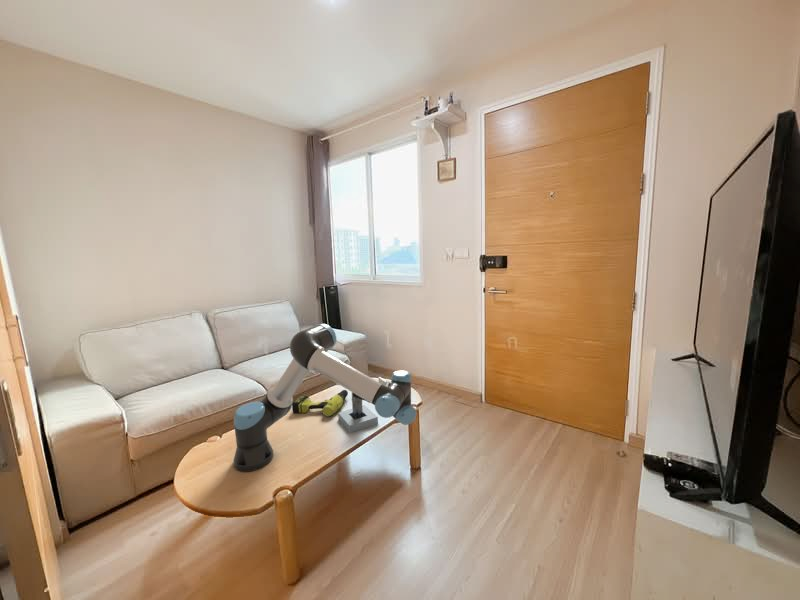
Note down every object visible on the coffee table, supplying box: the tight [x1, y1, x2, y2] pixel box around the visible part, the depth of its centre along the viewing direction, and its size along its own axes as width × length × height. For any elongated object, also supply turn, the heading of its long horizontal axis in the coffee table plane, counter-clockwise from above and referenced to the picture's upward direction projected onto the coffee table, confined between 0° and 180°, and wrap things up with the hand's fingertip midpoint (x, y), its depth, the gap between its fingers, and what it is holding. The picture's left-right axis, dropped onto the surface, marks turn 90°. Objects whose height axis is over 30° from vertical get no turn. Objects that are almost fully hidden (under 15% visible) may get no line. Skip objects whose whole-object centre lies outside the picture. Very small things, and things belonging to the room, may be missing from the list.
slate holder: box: [338, 404, 379, 433], centre depth 166 cm, size 15×15×4 cm
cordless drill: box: [291, 389, 349, 417], centre depth 183 cm, size 7×25×25 cm
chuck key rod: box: [351, 392, 363, 420], centre depth 165 cm, size 5×5×18 cm
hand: (366, 382), depth 153 cm, fingers open, 13 cm apart
